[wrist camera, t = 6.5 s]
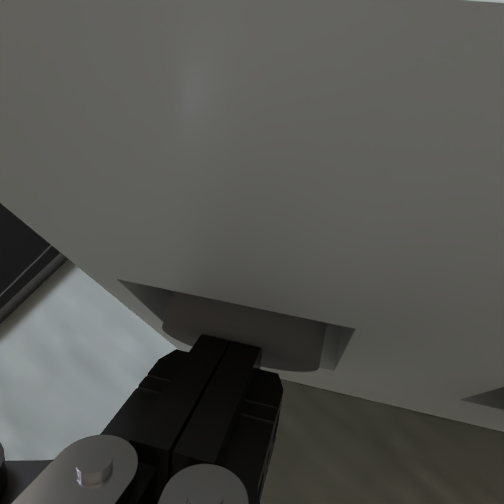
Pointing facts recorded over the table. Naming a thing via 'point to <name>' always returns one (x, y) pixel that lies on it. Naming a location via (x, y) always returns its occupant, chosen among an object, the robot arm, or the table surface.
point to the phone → (22, 261)
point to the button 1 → (248, 330)
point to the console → (279, 173)
